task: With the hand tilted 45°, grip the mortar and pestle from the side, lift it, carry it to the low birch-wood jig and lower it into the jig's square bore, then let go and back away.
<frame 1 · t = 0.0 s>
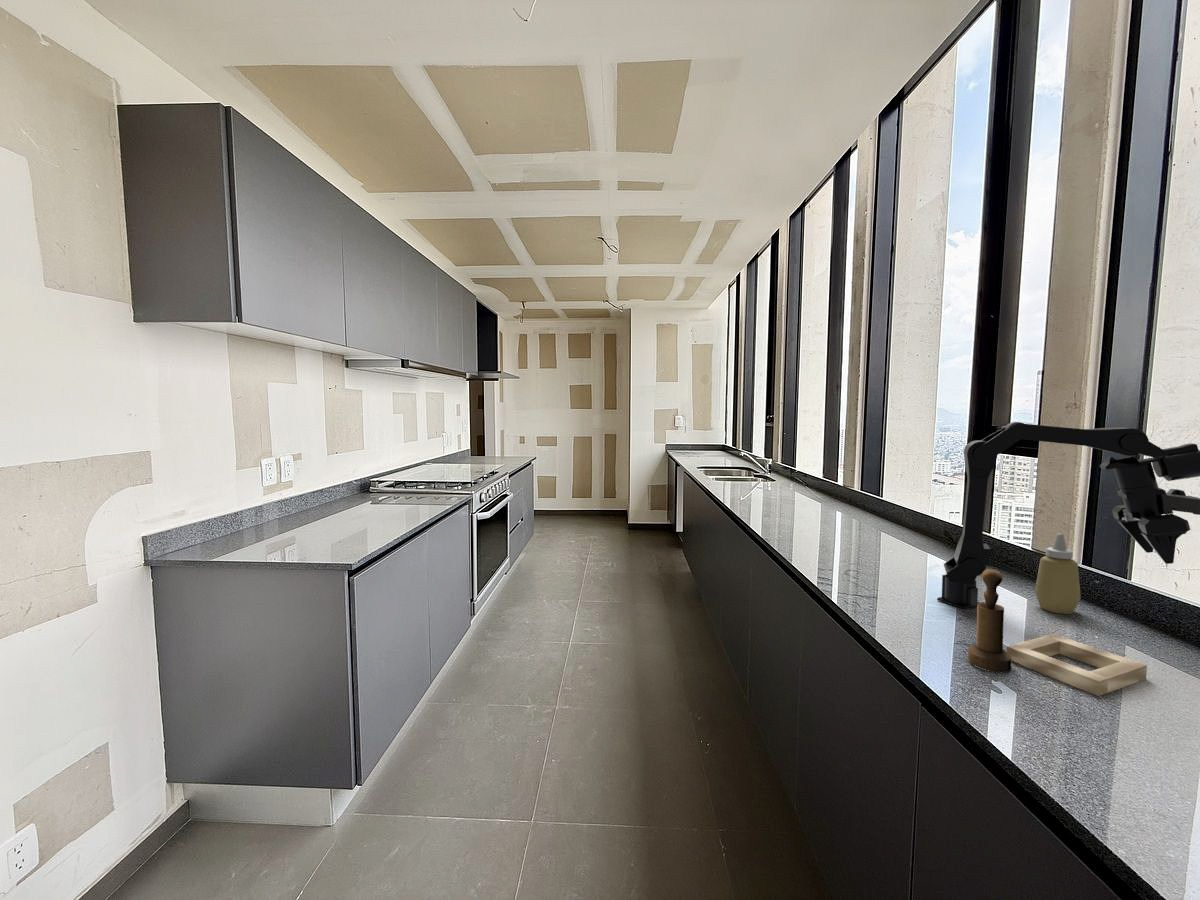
hand: (1159, 557, 110), 15 cm above the worktop, tool pointing down, fingers open, 9 cm apart
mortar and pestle: (988, 665, 97), on the worktop
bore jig: (1073, 668, 95), on the worktop
squeeze bottle: (1056, 610, 122), on the worktop
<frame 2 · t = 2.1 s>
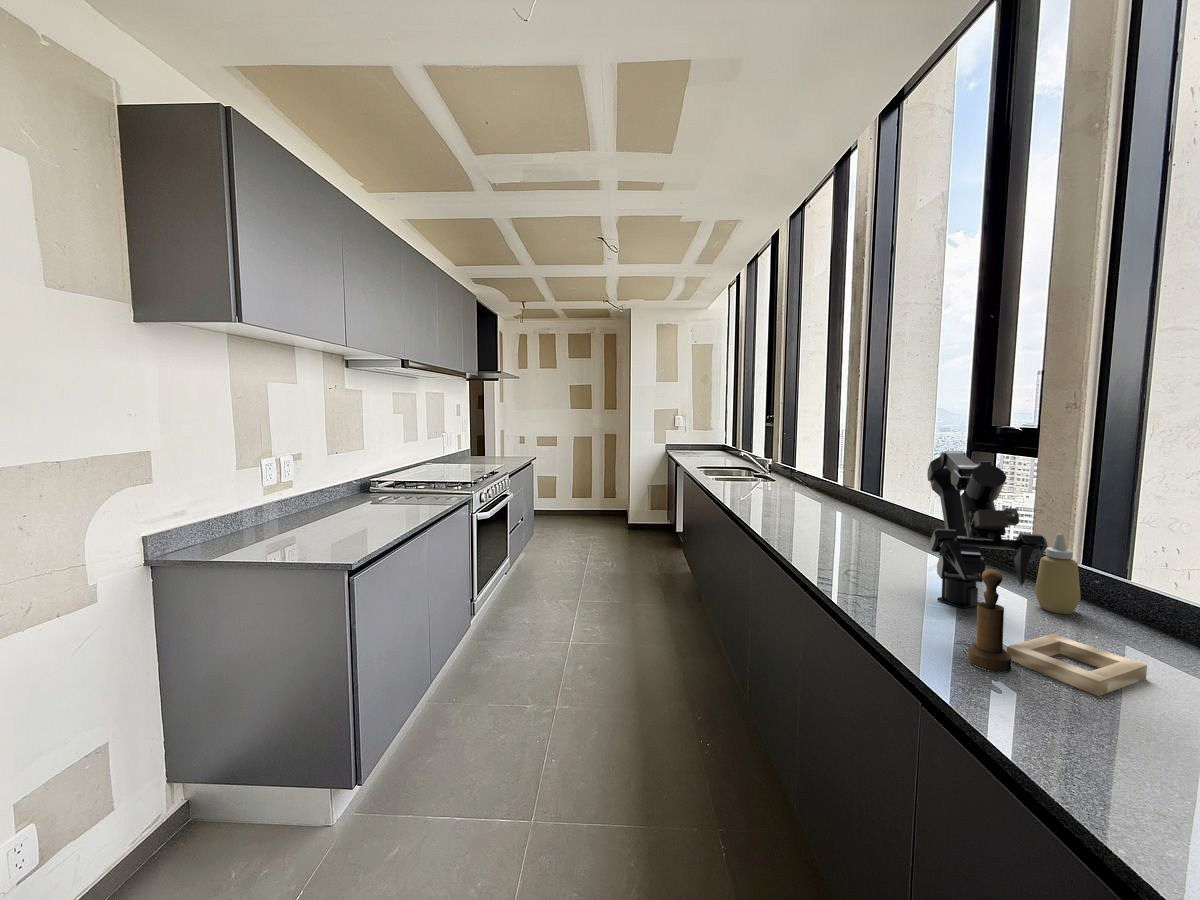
hand: (993, 581, 102), 14 cm above the worktop, tool tilted 45°, fingers open, 9 cm apart
nothing on the worktop moved.
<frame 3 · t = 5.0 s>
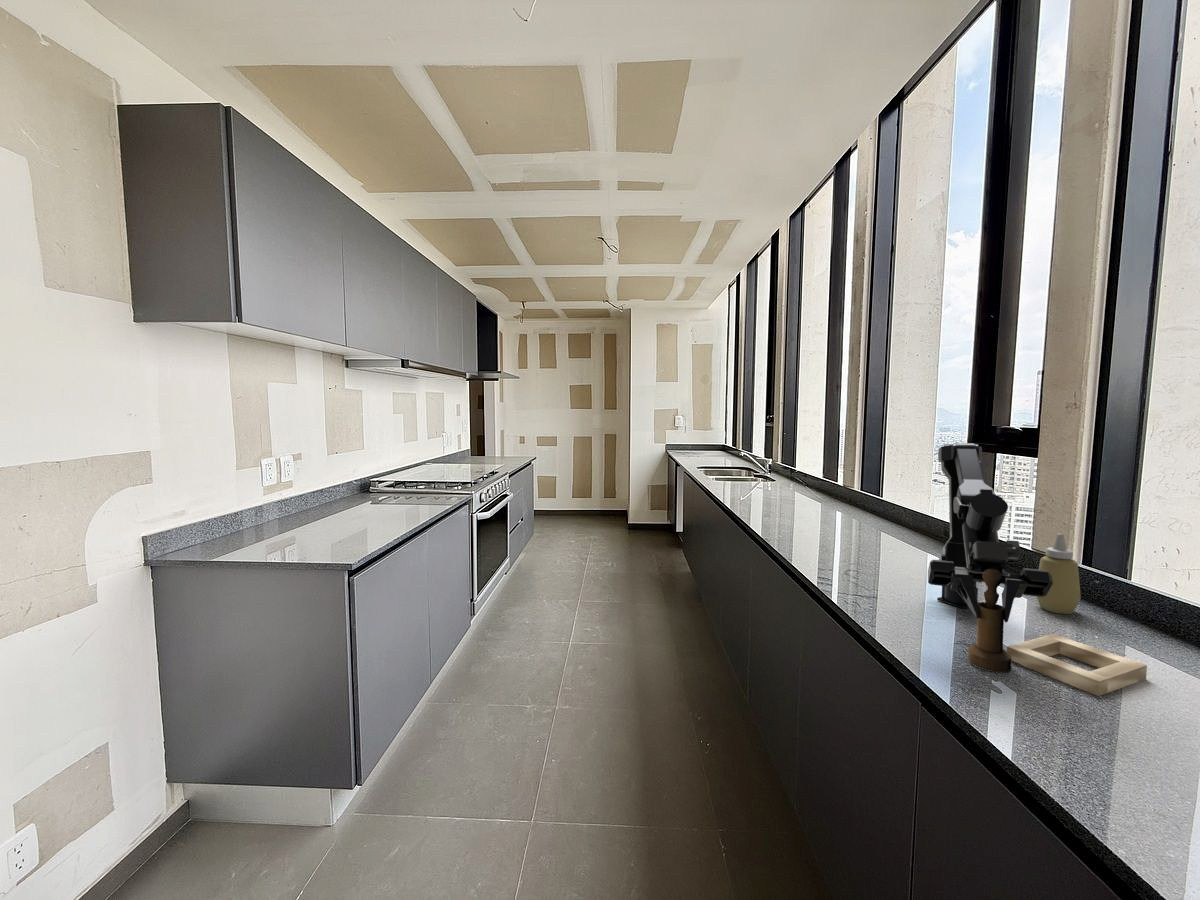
hand: (991, 619, 95), 9 cm above the worktop, tool tilted 45°, fingers closed on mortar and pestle, 4 cm apart
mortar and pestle: (988, 665, 97), on the worktop, touching gripper
everything else where it was.
when the fingers open (9 cm above the worktop, at t = 9.2 s): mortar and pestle stays where it is, resting in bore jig.
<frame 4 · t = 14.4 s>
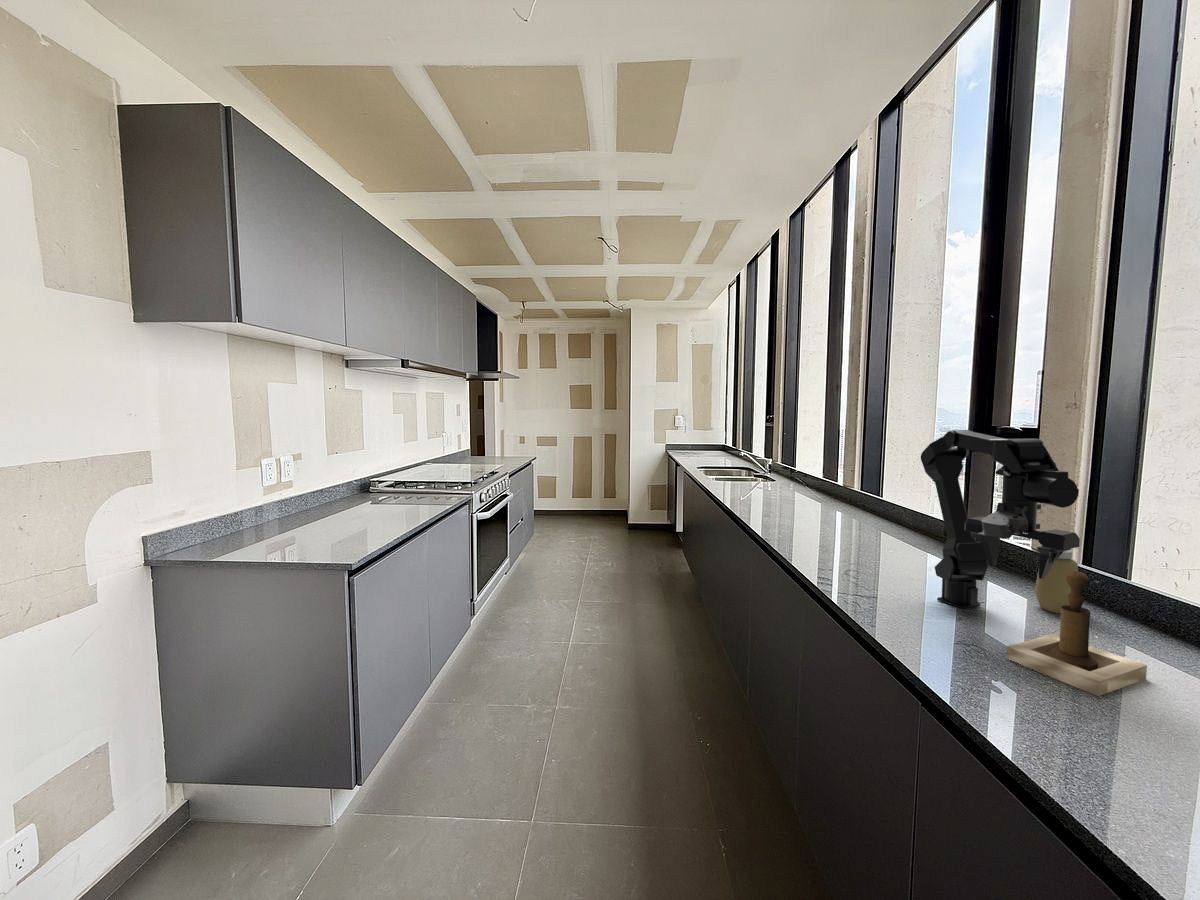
hand: (1016, 572, 109), 13 cm above the worktop, tool pointing down, fingers open, 9 cm apart
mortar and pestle: (1072, 669, 95), resting in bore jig
everything else where it was.
at the end: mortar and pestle 0.3 cm off-centre on the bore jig, point 0.0 cm above the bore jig's base; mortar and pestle tilted 0°; the gripper is holding nothing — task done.
